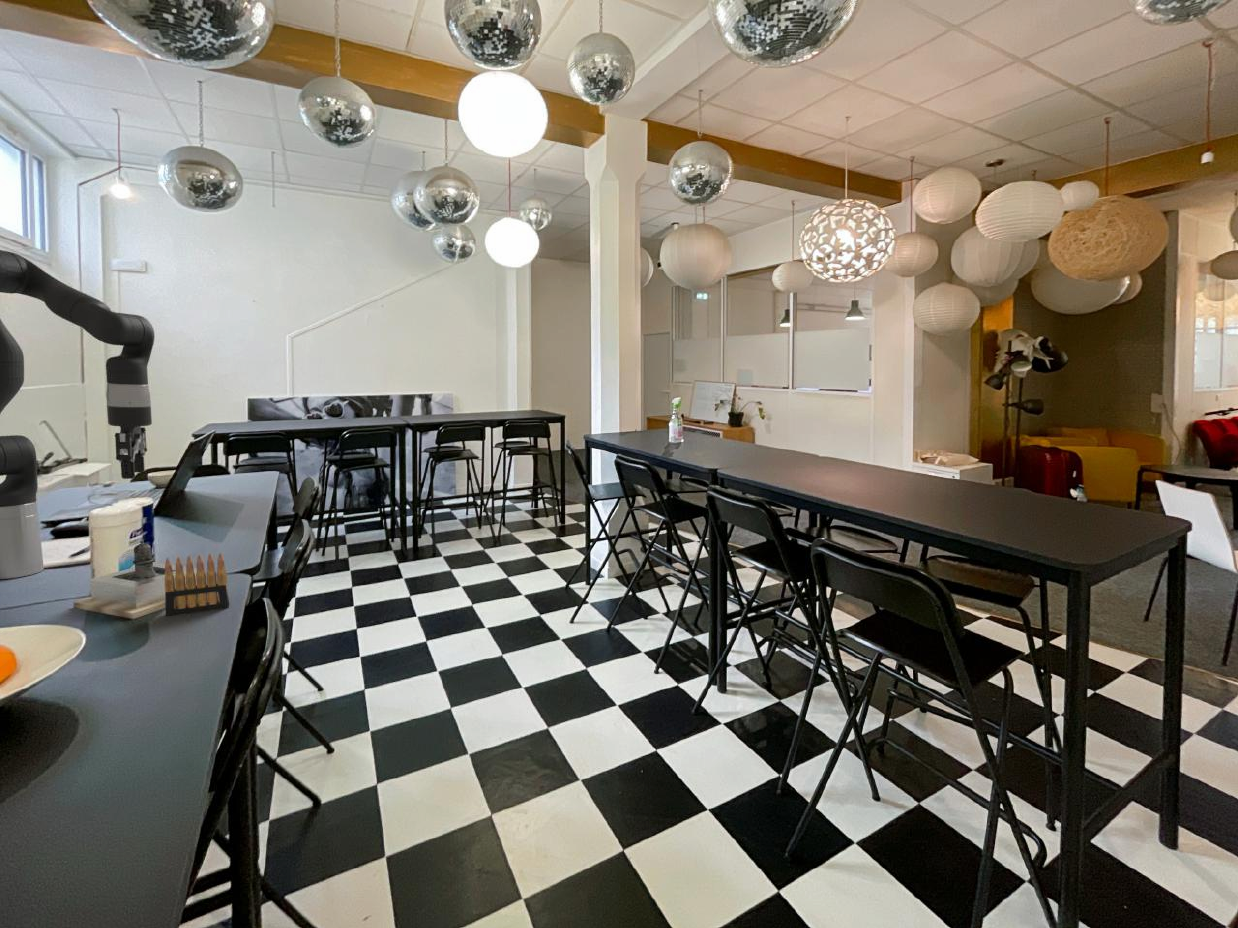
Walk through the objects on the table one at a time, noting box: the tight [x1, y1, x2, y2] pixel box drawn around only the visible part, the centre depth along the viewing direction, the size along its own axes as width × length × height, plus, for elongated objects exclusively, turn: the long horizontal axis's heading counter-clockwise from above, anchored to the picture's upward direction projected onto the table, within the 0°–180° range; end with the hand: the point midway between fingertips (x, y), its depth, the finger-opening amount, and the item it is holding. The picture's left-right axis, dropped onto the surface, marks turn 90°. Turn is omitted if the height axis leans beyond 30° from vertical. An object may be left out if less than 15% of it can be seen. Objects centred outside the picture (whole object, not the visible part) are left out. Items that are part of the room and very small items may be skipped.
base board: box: [72, 595, 187, 620], centre depth 125 cm, size 17×17×1 cm
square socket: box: [89, 561, 197, 608], centre depth 125 cm, size 13×13×4 cm
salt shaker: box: [128, 539, 162, 582], centre depth 124 cm, size 6×6×12 cm
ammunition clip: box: [164, 552, 230, 617], centre depth 119 cm, size 11×2×12 cm, turn 120°
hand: (133, 475), depth 131 cm, fingers open, 8 cm apart
